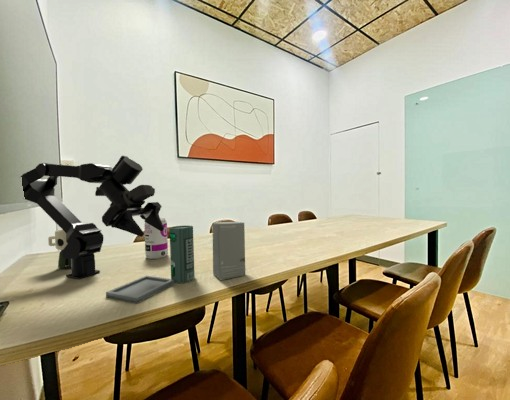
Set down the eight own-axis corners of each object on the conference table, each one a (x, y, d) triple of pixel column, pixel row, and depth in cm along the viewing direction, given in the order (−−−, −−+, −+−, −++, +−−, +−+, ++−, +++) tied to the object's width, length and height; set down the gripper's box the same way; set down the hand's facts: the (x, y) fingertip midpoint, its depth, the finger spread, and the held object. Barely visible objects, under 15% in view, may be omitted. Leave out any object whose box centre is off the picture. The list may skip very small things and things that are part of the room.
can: (179, 275, 70) (177, 225, 69) (197, 276, 68) (196, 225, 68) (167, 282, 64) (165, 228, 63) (187, 283, 62) (185, 228, 62)
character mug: (45, 272, 76) (43, 232, 75) (53, 266, 82) (51, 230, 82) (86, 267, 80) (84, 229, 80) (90, 262, 87) (89, 227, 86)
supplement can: (171, 253, 96) (170, 217, 96) (161, 259, 88) (160, 220, 87) (152, 253, 97) (151, 218, 96) (141, 259, 89) (139, 220, 88)
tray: (106, 297, 55) (105, 292, 55) (146, 279, 66) (146, 275, 66) (136, 303, 52) (136, 298, 52) (174, 283, 63) (174, 279, 63)
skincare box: (219, 281, 64) (218, 224, 63) (212, 273, 70) (210, 221, 70) (247, 275, 68) (245, 221, 67) (237, 269, 74) (236, 219, 74)
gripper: (109, 172, 59) (149, 215, 57) (155, 177, 77) (186, 210, 75) (84, 204, 60) (122, 247, 58) (135, 202, 79) (165, 234, 77)
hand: (153, 232), depth 67 cm, fingers open, 9 cm apart
